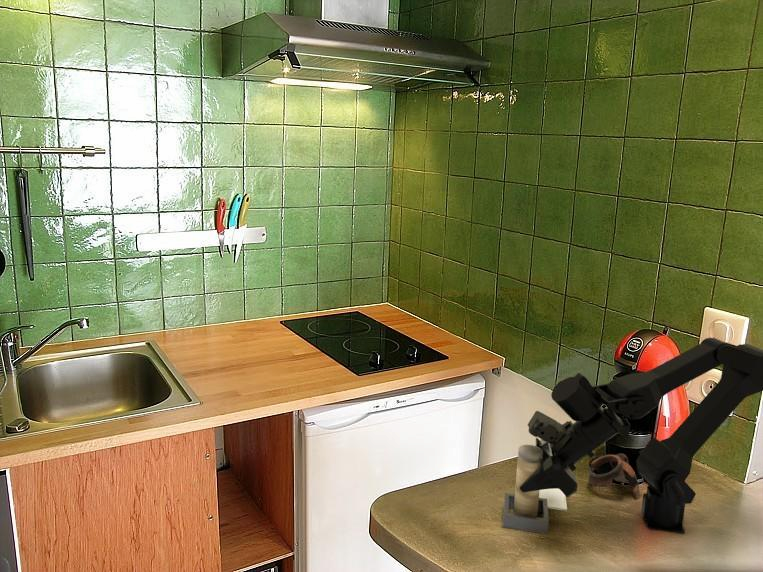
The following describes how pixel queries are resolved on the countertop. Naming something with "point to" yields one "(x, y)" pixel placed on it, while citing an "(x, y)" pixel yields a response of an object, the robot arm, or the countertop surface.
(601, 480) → the pottery mug
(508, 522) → the metal holder
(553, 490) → the off-white pad
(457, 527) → the countertop surface
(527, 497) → the beige cylinder grey cap
